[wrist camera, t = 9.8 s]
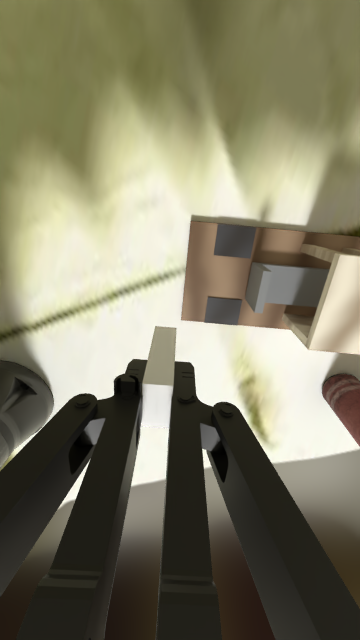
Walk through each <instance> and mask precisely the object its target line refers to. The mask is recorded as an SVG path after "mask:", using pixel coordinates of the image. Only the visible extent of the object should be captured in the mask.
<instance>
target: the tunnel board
mask: <svg viewBox="0 0 360 640" xmlns="http://www.w3.org/2000/svg"><path fill="white" fill-rule="evenodd" d="M252 262H255V263H266V264H277V265H288V266H299V267H310V268H320V269H330V270H329V273H328V276H327V279H326V282H325V286H324V289H323V292H322V295H321V298H320V301H319V304H318V307H308V306H297V305H286V304H275V303H265V304H264V309H263V313H254V311H253V310H252V308H251V307H250V305H249V304H248V302H247V301H246V300H245V296H246V291H247V286H248V281H249V276H250V271H251V266H252ZM181 320H187V321H198V322H205V323H216V324H227V325H244V326H255V327H266V328H278V329H289V330H291V331H292V332H293V333H294V334H295V335H296V336H297V337H298V338H299V340H300V341H301V342H302V343H303V344H304V345H305V346H306V348H307V349H308V350H314V351H326V352H337V353H349V354H360V237H355V236H345V235H334V234H324V233H313V232H302V231H292V230H281V229H271V228H260V227H250V226H239V225H229V224H218V223H208V222H197V221H191V225H190V235H189V245H188V256H187V266H186V276H185V286H184V297H183V307H182V317H181Z"/></svg>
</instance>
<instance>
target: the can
mask: <svg viewBox="0 0 360 640" xmlns="http://www.w3.org/2000/svg"><path fill="white" fill-rule="evenodd" d="M322 394H323V397H324V399H325V400H326V401H327V403H328V404H329V405H330V407H331V408H332V410H333V411H334V412H335V414H336V415H337V416H338V418H339V419H340V420H341V422H342V423H343V424H344V426H345V427H346V429H347V430H348V431H349V433H350V434H351V435H352V437H353V438H354V439H355V441H356V442H357V443H358V445H359V446H360V381H359V380H358V379H357V378H356V377H354V376H352V375H348V374H337V375H335V376H332V377H331V378H329V379H328V380H327V381H326V382H325V383H324V385H323V390H322Z"/></svg>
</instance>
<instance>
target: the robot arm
mask: <svg viewBox="0 0 360 640" xmlns="http://www.w3.org/2000/svg"><path fill="white" fill-rule="evenodd" d="M175 345H176V328H171V327H157V326H155V331H154V335H153V339H152V344H151V348H150V352H149V357H148V360H140V359H133V360H132V361H131V362H130V363H129V364H128V366H127V370H126V372H125V374H122V375H119V376H118V377H116V378H115V380H114V396H112V397H110V398H107V399H102V400H97V398H96V397H95V396H94V395H92V394H86V393H85V394H79V395H77V396H74V397H73V398H72V399H70V400H69V401H68V402H67V403H66V404H65V405H64V406H63V407H62V408H61V409H60V410H59V412H58V413H57V414H56V415H55V416H54V417H53V418H52V419H51V420H50V421H49V422H48V423H47V424H46V425H45V426H44V427H43V425H44V424H45V423H46V421H47V420H48V418H49V417H50V415H51V413H52V410H53V397H52V394H51V392H50V390H49V388H48V386H47V385H46V384H45V382H44V381H43V380H42V379H41V378H40V377H39V376H38V375H36V374H35V373H34V372H32V371H31V370H29V369H27V368H25V367H23V366H21V365H18V364H15V363H11V362H6V361H0V469H1V467H2V466H3V464H4V463H5V462H6V460H7V459H8V457H9V456H10V455H11V453H12V452H13V450H14V449H15V448H17V447H18V446H19V445H20V444H22V443H23V442H24V441H25V440H26V439H28V438H29V437H30V436H31V435H33V434H34V433H36V432H37V431H39V430H40V429H41V428H42V427H43V428H42V429H41V430H40V431H39V432H38V433H37V434H36V435H35V436H34V437H33V438H32V439H31V440H30V441H29V442H28V443H27V444H26V445H25V446H24V447H23V449H22V450H21V451H20V452H19V453H18V454H17V455H16V456H15V457H14V458H13V459H12V460H11V461H10V462H9V463H8V464H7V465H6V466H5V467H4V468H3V469H2V470H1V471H0V597H1V595H2V593H3V592H4V590H5V589H6V587H7V586H8V584H9V583H10V581H11V580H12V578H13V577H14V575H15V574H16V572H17V570H18V569H19V567H20V566H21V564H22V563H23V561H24V560H25V558H26V557H27V555H28V553H29V552H30V551H31V549H32V547H33V546H34V544H35V543H36V541H37V540H38V538H39V537H40V535H41V534H42V532H43V531H44V529H45V528H46V526H47V524H48V523H49V521H50V520H51V518H52V517H53V515H54V514H55V512H56V511H57V509H58V508H59V506H60V505H61V503H62V501H63V500H64V498H65V497H66V495H67V494H68V492H69V491H70V489H71V488H72V486H73V485H74V483H75V482H76V480H77V478H78V477H79V475H80V474H81V472H82V471H83V469H84V468H85V466H86V465H87V463H88V462H89V460H90V462H89V465H88V468H87V470H86V473H85V476H84V478H83V481H82V484H81V487H80V489H79V492H78V495H77V498H76V500H75V504H74V506H73V509H72V511H71V514H70V517H69V520H68V522H67V525H66V528H65V530H64V534H63V536H62V539H61V541H60V544H59V547H58V550H57V552H56V555H55V558H54V561H53V563H52V566H51V568H50V570H49V572H48V574H46V575H45V576H44V577H43V578H42V579H41V581H40V582H39V584H38V585H37V588H36V590H35V592H34V594H33V597H32V599H31V602H30V604H29V607H28V610H27V612H26V615H25V617H24V620H23V623H22V625H21V628H20V630H19V633H18V636H17V638H16V640H104V635H105V625H106V619H107V612H108V606H109V602H110V596H111V591H112V585H113V579H114V575H115V569H116V563H117V558H118V552H119V547H120V542H121V536H122V531H123V525H124V520H125V515H126V509H127V504H128V498H129V493H130V487H131V482H132V477H133V471H134V466H135V460H136V455H137V449H138V444H139V439H140V427H156V428H169V438H168V455H167V470H166V486H165V503H164V518H163V534H162V550H161V565H160V581H159V597H158V613H157V627H156V640H222V635H221V624H220V613H219V603H218V595H217V589H216V586H215V584H214V582H213V576H212V566H211V554H210V541H209V528H208V517H207V504H206V492H205V480H204V466H203V454H202V448H203V449H206V451H207V455H208V458H209V460H210V463H211V466H212V469H213V471H214V474H215V477H216V479H217V482H218V484H219V487H220V490H221V493H222V495H223V498H224V501H225V504H226V506H227V509H228V512H229V514H230V517H231V520H232V522H233V525H234V528H235V531H236V533H237V536H238V539H239V542H240V544H241V547H242V550H243V552H244V555H245V558H246V560H247V563H248V566H249V569H250V571H251V574H252V577H253V579H254V582H255V585H256V587H257V590H258V593H259V596H260V598H261V601H262V604H263V606H264V609H265V612H266V615H267V617H268V620H269V623H270V625H271V628H272V631H273V634H274V636H275V639H276V640H360V609H359V607H358V605H357V604H356V602H355V601H354V599H353V597H352V596H351V594H350V592H349V590H348V589H347V587H346V586H345V584H344V582H343V581H342V579H341V577H340V576H339V574H338V572H337V571H336V569H335V567H334V566H333V564H332V562H331V561H330V559H329V557H328V556H327V554H326V553H325V551H324V549H323V548H322V546H321V544H320V543H319V541H318V539H317V538H316V536H315V534H314V533H313V531H312V529H311V528H310V526H309V524H308V523H307V521H306V520H305V518H304V516H303V514H302V513H301V511H300V510H299V508H298V506H297V505H296V503H295V501H294V500H293V498H292V496H291V495H290V493H289V492H288V490H287V488H286V486H285V485H284V483H283V481H282V480H281V478H280V477H279V475H278V473H277V472H276V470H275V468H274V467H273V465H272V463H271V462H270V460H269V458H268V457H267V455H266V453H265V452H264V450H263V448H262V447H261V445H260V443H259V442H258V440H257V439H256V437H255V435H254V434H253V432H252V430H251V429H250V427H249V425H248V424H247V422H246V420H245V419H244V417H243V415H242V414H241V412H240V410H239V409H238V408H237V407H236V406H235V405H233V404H231V403H228V402H219V403H217V404H215V405H214V407H212V406H209V405H206V404H204V403H202V402H201V401H200V400H199V399H198V398H197V396H196V387H195V374H194V367H193V365H192V364H191V363H190V362H176V361H175Z"/></svg>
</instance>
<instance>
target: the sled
mask: <svg viewBox="0 0 360 640" xmlns="http://www.w3.org/2000/svg"><path fill="white" fill-rule="evenodd" d="M329 270H330V269H320V268H310V267H299V266H288V265H277V264H266V263H255V262H252V266H251V271H250V276H249V281H248V286H247V291H246V296H245V300H246V301H247V302H248V304H249V305H250V307H251V308H252V310H253V311H254V313H263V309H264V304H265V303H275V304H286V305H297V306H308V307H318V304H319V301H320V298H321V295H322V292H323V289H324V286H325V282H326V279H327V276H328V273H329Z"/></svg>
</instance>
